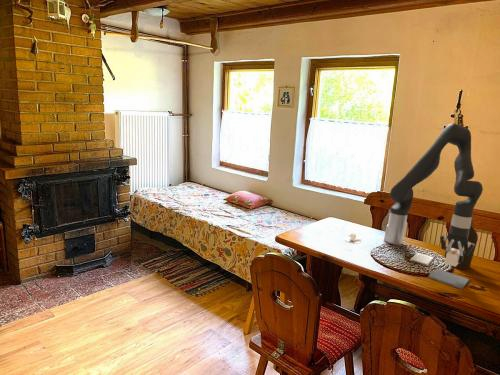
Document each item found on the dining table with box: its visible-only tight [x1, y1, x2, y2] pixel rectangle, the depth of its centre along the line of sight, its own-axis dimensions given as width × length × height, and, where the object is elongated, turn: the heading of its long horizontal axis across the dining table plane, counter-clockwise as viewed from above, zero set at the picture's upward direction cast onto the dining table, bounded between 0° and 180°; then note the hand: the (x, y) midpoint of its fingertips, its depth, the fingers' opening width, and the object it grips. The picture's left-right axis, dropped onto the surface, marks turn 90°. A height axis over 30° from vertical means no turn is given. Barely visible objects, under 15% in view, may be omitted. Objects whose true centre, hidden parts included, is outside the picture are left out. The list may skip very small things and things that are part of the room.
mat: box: [428, 268, 470, 290], centre depth 169 cm, size 14×12×1 cm
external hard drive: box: [409, 252, 435, 267], centre depth 189 cm, size 2×8×12 cm
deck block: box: [444, 248, 460, 268], centre depth 166 cm, size 9×4×5 cm, turn 138°
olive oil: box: [451, 217, 479, 270], centre depth 183 cm, size 11×11×25 cm
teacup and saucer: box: [344, 232, 362, 244], centre depth 208 cm, size 9×8×4 cm
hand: (452, 260), depth 167 cm, fingers closed on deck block, 4 cm apart
